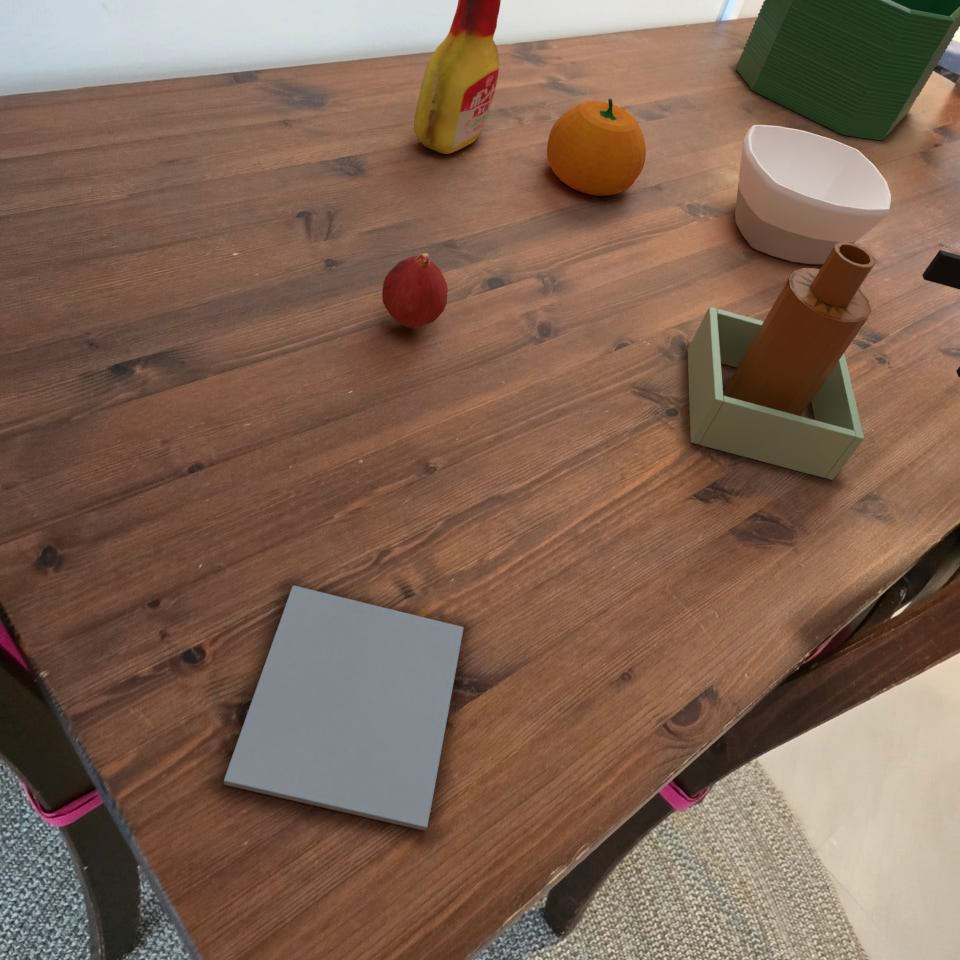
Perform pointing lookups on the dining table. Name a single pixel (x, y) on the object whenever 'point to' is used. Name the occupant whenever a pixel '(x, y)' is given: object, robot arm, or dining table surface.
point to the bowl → (805, 194)
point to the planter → (848, 58)
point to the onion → (415, 291)
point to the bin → (762, 428)
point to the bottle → (460, 80)
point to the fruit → (597, 148)
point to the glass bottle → (805, 333)
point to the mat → (350, 709)
